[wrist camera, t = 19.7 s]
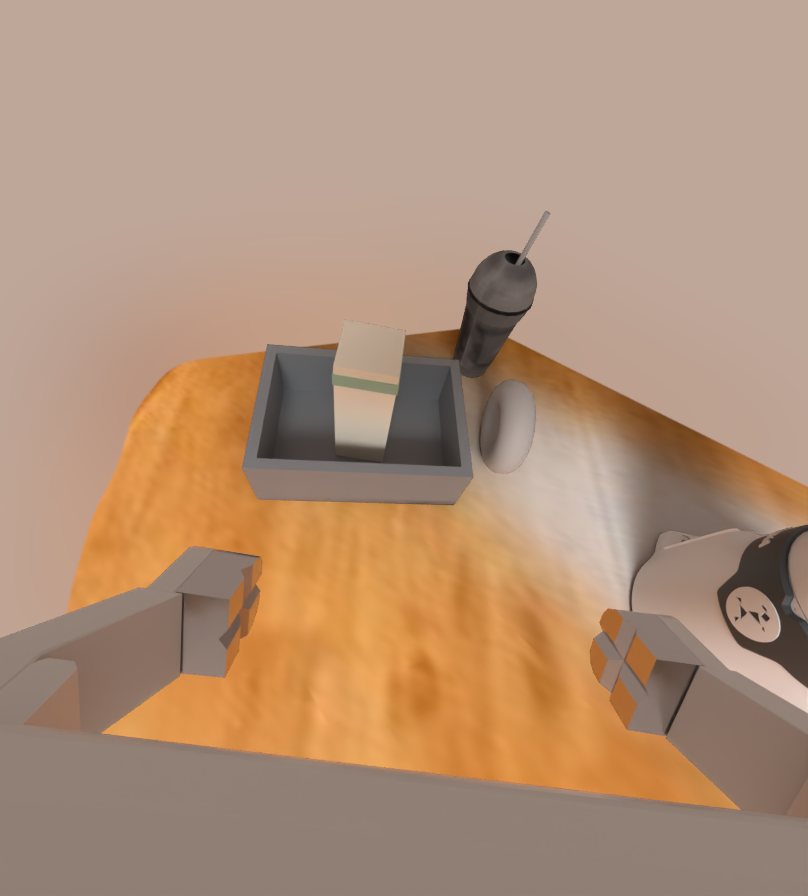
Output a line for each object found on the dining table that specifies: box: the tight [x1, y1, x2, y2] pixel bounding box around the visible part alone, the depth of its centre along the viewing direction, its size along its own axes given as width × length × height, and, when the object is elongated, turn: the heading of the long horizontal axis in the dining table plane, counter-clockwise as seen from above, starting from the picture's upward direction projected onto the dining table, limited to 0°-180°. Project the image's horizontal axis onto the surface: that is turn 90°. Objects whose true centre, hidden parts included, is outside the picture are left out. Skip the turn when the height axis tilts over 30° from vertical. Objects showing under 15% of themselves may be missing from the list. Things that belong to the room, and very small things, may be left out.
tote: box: [242, 344, 473, 505], centre depth 40 cm, size 20×14×7 cm
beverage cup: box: [454, 211, 550, 378], centre depth 42 cm, size 7×7×20 cm
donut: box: [480, 380, 536, 474], centre depth 40 cm, size 10×3×10 cm, turn 175°
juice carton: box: [332, 320, 406, 462], centre depth 36 cm, size 5×5×14 cm
